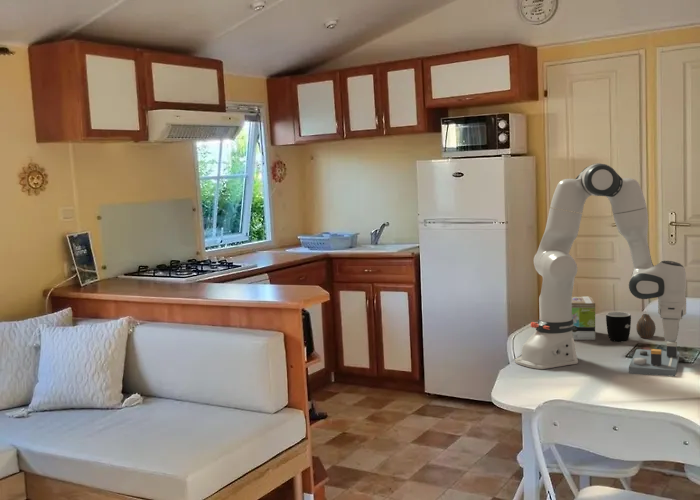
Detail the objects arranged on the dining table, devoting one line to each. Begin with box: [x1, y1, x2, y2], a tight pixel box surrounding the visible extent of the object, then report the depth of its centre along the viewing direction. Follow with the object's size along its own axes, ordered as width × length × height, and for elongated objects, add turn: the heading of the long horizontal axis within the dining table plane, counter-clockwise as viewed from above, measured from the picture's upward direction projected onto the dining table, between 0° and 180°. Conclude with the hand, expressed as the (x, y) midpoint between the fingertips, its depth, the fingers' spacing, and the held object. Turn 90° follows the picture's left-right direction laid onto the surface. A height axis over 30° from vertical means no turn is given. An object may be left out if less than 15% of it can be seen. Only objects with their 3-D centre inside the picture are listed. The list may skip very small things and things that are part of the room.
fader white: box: [666, 341, 678, 357], centre depth 256 cm, size 2×3×4 cm
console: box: [628, 348, 681, 377], centre depth 255 cm, size 24×14×4 cm, turn 154°
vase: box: [636, 313, 656, 339], centre depth 293 cm, size 7×7×9 cm
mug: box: [605, 311, 632, 343], centre depth 291 cm, size 12×9×10 cm
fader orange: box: [650, 348, 663, 365], centre depth 248 cm, size 2×3×4 cm
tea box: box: [572, 296, 596, 341], centre depth 300 cm, size 15×10×15 cm, turn 168°
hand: (672, 348), depth 260 cm, fingers closed
